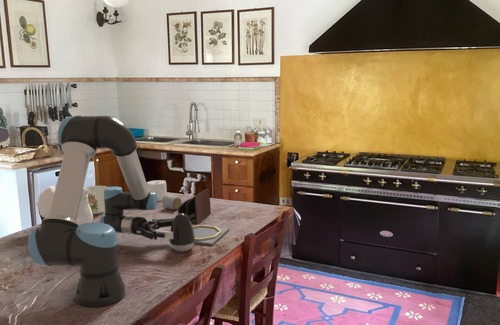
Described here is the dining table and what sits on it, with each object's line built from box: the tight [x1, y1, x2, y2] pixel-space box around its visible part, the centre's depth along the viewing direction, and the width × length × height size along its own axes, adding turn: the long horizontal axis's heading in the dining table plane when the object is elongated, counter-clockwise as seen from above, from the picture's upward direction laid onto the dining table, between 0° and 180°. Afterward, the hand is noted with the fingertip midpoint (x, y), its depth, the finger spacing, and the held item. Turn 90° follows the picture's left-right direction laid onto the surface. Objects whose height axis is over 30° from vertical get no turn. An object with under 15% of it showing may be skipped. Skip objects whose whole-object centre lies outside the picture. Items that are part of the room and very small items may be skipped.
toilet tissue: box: [146, 179, 168, 202], centre depth 260 cm, size 11×12×10 cm
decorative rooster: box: [36, 185, 94, 225], centre depth 206 cm, size 25×16×25 cm, turn 71°
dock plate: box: [168, 224, 230, 247], centre depth 200 cm, size 20×20×2 cm
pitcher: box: [85, 185, 109, 215], centre depth 235 cm, size 11×18×14 cm, turn 80°
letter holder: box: [177, 188, 212, 225], centre depth 223 cm, size 10×20×14 cm, turn 166°
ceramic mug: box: [161, 193, 183, 211], centre depth 242 cm, size 11×8×8 cm
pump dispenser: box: [169, 213, 195, 253], centre depth 183 cm, size 10×10×15 cm
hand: (180, 230), depth 183 cm, fingers open, 13 cm apart
